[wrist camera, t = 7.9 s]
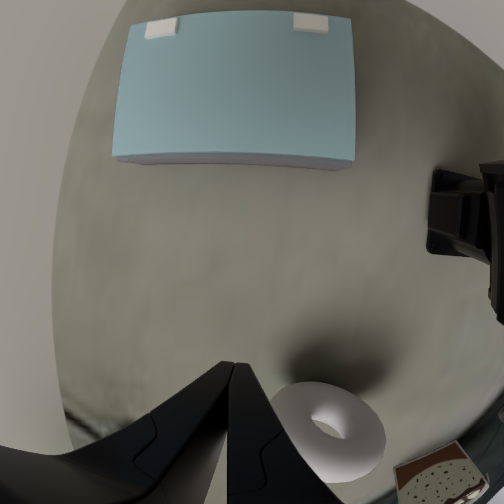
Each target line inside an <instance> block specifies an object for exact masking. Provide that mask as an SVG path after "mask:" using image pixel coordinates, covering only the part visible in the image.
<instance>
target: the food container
mask: <svg viewBox="0 0 504 504" xmlns="http://www.w3.org/2000/svg"><path fill="white" fill-rule="evenodd" d="M393 470H394V476H395V482H396V488H397V495H398V502H399V504H472V503H473V502H475V501H476V500H477V499H478V498H479V497H480V496H481V495H482V494H483V493H484V492H485V491H486V490H487V489H488V488H489V482H490V481H489V477H488V473H487V474H486V475H485V477H484V476H483V475H482V474H481V472H480V471H479V470H478V468H477V467H476V466H475V464H474V463H473V461H472V460H471V459H470V458H469V456H468V455H467V454H466V452H465V451H464V450H463V448H462V447H461V446H460V444H459V443H458V442H457V440H455V441H453V442H451V443H449V444H447V445H445V446H443V447H441V448H439V449H437V450H435V451H432V452H430V453H428V454H426V455H423V456H421V457H419V458H416V459H414V460H411V461H409V462H406V463H404V464H401V465H399V466H396V467H393Z"/></svg>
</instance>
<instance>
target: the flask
mask: <svg viewBox="0 0 504 504" xmlns="http://www.w3.org/2000/svg"><path fill="white" fill-rule="evenodd" d="M498 417H499V418H500V420H501V421H502V422H503V423H504V405H503V406H502V407H501V409H500V410H499V412H498Z"/></svg>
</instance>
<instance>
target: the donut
mask: <svg viewBox="0 0 504 504" xmlns="http://www.w3.org/2000/svg"><path fill="white" fill-rule="evenodd" d="M270 404H271V406H272V407H273V409H274V411H275V413H276V415H277V416H278V418H279V420H280V422H281V424H282V425H283V427H284V429H285V432H287V434H288V436H289V437H290V439H291V441H292V442H293V444H294V445H295V447H296V449H297V450H298V452H299V453H300V455H301V456H302V457H303V458H304V460H305V461H306V462H307V463H308V465H309V466H310V467H311V468H312V469H313V471H314V472H315V473H316V474H317V475H318V476H319V477H320V479H321V480H322V481H323V482H327V483H337V482H349V481H353V480H355V479H357V478H360V477H362V476H364V475H366V474H368V473H369V472H371V471H372V469H373V468H374V467H375V466H376V465H377V464H378V462H379V461H380V460H381V458H382V457H383V453H384V449H385V444H386V436H385V432H384V427H383V424H382V423H381V421H380V419H379V417H378V416H377V414H376V413H375V412H374V411H373V410H372V409H371V408H370V407H369V406H368V404H366V403H365V402H364V401H362V400H361V399H360V398H358V397H357V396H356V395H354V394H352V393H350V392H348V391H346V390H344V389H342V388H339V387H337V386H334V385H331V384H327V383H321V382H315V381H313V382H298V383H295V384H292V385H290V386H287V387H285V388H283V389H281V390H280V391H279V392H278V393H277V394H276V395H275V396H274V397H273V398H272V399H271V400H270ZM312 420H318V421H321V422H324V423H326V424H328V425H330V426H331V427H333V428H334V429H335V430H336V431H338V433H339V434H340V435H341V436H342V438H343V439H339V438H336V437H332V436H330V435H329V434H327V433H325V432H323V431H322V430H321V429H320V428H319V427H317V426H316V425H315V423H314V422H313V421H312Z"/></svg>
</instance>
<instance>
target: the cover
mask: <svg viewBox="0 0 504 504" xmlns="http://www.w3.org/2000/svg"><path fill="white" fill-rule="evenodd" d="M355 130H356V104H355V70H354V52H353V39H352V27H351V19H349V18H343V17H337V16H330V15H323V14H314V13H304V12H292V11H271V10H241V11H220V12H208V13H198V14H190V15H182V16H175V17H169V18H163V19H158V20H153V21H148V22H143V23H139V24H135V25H131V26H130V30H129V35H128V39H127V44H126V49H125V54H124V59H123V64H122V70H121V76H120V83H119V89H118V97H117V105H116V113H115V123H114V135H113V149H112V156H129V155H144V154H165V153H256V154H276V155H292V156H305V157H317V158H327V159H336V160H345V161H355Z"/></svg>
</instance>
